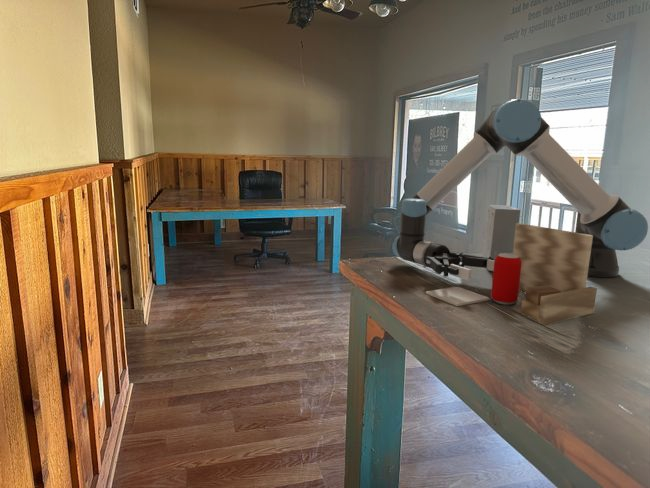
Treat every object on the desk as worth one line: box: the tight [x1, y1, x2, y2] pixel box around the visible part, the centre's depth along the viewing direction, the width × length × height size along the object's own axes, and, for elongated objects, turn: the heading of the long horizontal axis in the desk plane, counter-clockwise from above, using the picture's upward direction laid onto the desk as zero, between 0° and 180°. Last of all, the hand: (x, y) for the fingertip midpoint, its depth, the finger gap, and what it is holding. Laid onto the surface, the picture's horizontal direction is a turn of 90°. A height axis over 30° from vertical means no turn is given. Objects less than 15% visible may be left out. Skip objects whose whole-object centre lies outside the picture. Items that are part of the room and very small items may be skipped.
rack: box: [513, 222, 598, 326], centre depth 110 cm, size 23×18×18 cm
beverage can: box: [490, 253, 522, 306], centre depth 111 cm, size 6×6×12 cm
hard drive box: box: [482, 204, 522, 272], centre depth 147 cm, size 16×8×20 cm, turn 168°
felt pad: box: [425, 286, 490, 307], centre depth 115 cm, size 11×11×1 cm
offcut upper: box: [524, 286, 561, 305], centre depth 103 cm, size 4×6×3 cm, turn 106°
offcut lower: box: [520, 299, 540, 321], centre depth 103 cm, size 5×7×4 cm
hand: (489, 272), depth 115 cm, fingers open, 13 cm apart
